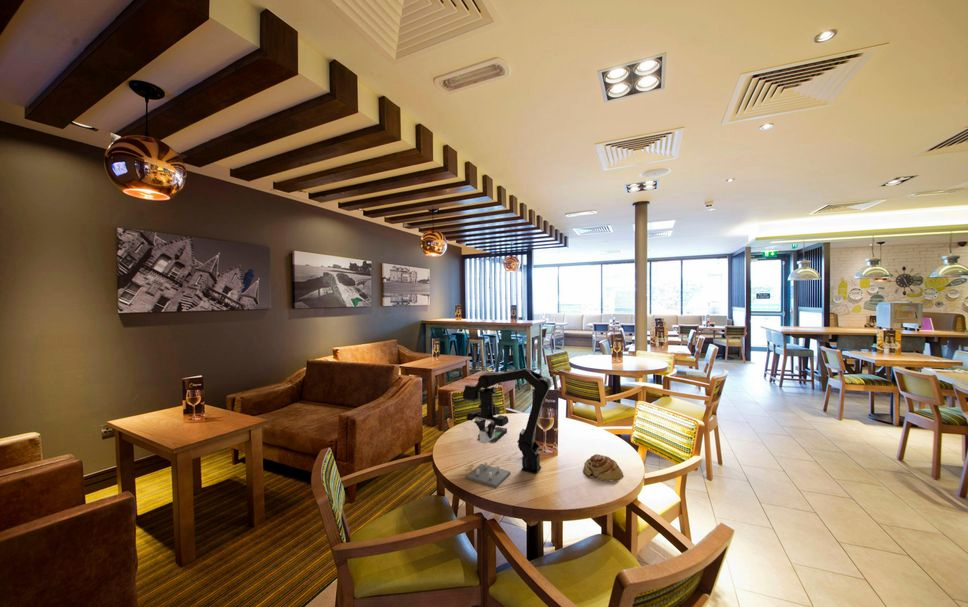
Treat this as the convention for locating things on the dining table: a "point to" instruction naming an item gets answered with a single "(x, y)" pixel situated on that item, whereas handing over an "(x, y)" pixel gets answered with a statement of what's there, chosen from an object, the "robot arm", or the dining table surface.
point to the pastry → (602, 468)
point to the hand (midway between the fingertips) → (487, 437)
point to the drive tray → (488, 475)
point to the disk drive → (497, 433)
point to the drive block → (485, 435)
